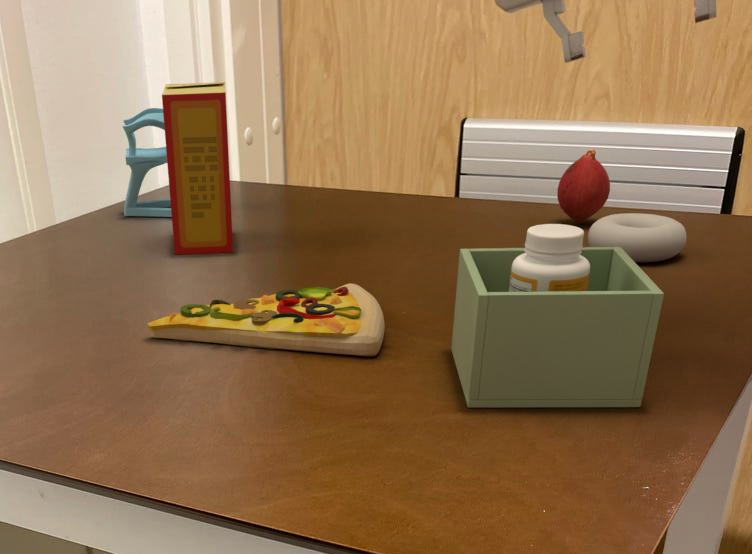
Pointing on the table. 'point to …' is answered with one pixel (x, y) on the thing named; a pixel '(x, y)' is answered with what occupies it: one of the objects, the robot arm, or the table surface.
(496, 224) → the table surface
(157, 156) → the chair
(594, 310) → the trash bin
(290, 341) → the pizza slice
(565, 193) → the onion
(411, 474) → the table surface
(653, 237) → the donut
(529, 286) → the supplement bottle
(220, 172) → the baking soda box
